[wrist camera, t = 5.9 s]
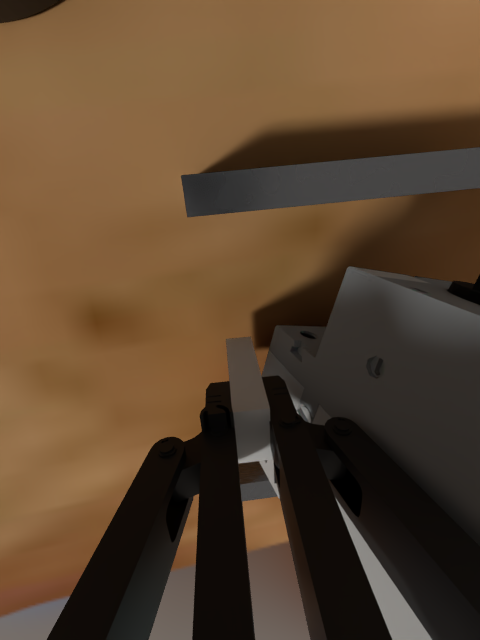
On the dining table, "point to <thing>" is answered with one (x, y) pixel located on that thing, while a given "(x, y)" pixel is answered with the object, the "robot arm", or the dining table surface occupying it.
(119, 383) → the dining table surface
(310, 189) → the dark gray open bay
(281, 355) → the circuit breaker
